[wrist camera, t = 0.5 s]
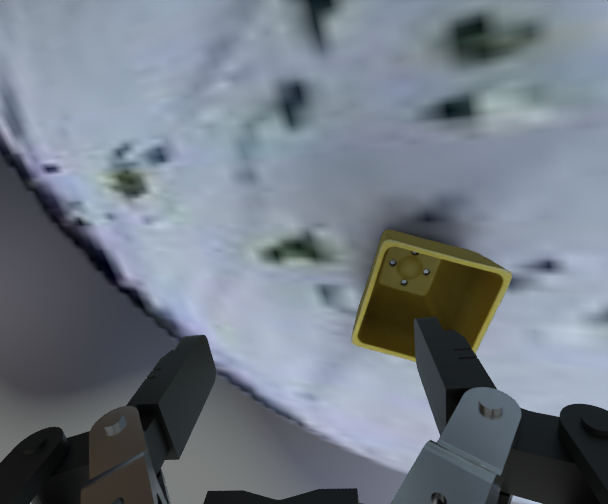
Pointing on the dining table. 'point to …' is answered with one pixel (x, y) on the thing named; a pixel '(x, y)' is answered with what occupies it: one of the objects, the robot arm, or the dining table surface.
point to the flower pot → (426, 293)
